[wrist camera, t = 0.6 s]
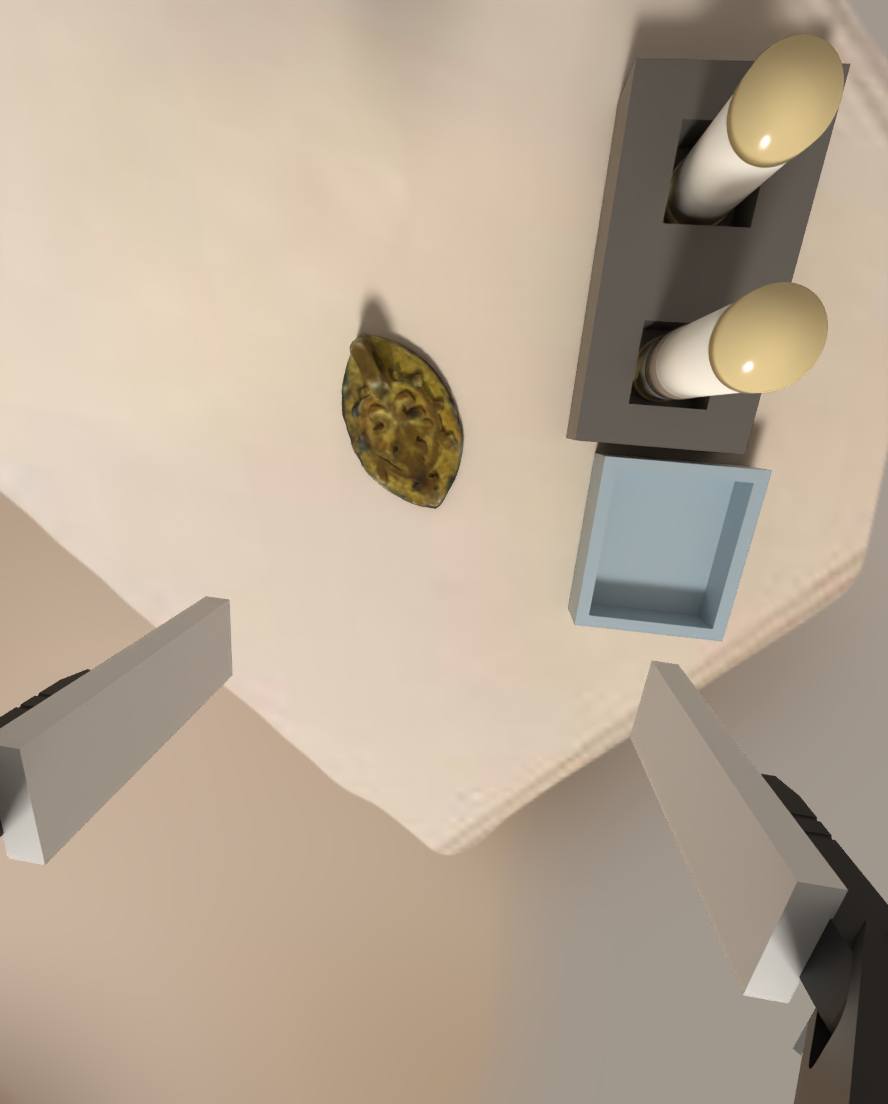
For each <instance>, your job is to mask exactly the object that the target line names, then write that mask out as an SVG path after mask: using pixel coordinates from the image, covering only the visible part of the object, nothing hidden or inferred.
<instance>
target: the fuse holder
mask: <svg viewBox="0 0 888 1104" xmlns="http://www.w3.org/2000/svg"><path fill="white" fill-rule="evenodd" d="M754 62H755V61H715V60H674V59H636V60H635V63H634V65H633V68H632V70H631V73H630V75H629V77H628V80H627V82H626V85H625V87H624V90H623V92H622V95H621V97H620V99H619V102H618V105H617V112H616V118H615V125H614V131H613V138H612V144H611V151H610V157H609V164H608V170H607V177H606V183H605V190H604V196H603V203H602V209H601V216H600V222H599V229H598V235H597V242H596V248H595V255H594V261H593V268H592V274H591V281H590V287H589V294H588V300H587V307H586V313H585V320H584V326H583V333H582V339H581V346H580V352H579V359H578V365H577V372H576V378H575V385H574V391H573V398H572V404H571V411H570V417H569V424H568V430H567V437H566V438H569V439H573V440H579V441H591V442H603V443H615V444H627V445H639V446H650V447H662V448H674V449H686V450H698V451H710V452H722V453H734V454H745V452H746V448H747V444H748V440H749V437H750V433H751V429H752V426H753V422H754V418H755V415H756V411H757V407H758V404H759V400H760V396H761V393H754V394H746V393H733V394H723V395H713V396H703V397H696V398H690V399H680V400H670V401H666V402H649V401H646V400H644V399H642V398H640V397H639V396H638V395H637V394H636V393H635V392H634V390H633V389H632V383H633V378H634V373H635V367H636V362H637V357H638V352H639V348H641V347H642V346H643V345H644V344H645V343H647V342H648V341H650V340H652V339H654V338H657V337H659V336H662V335H665V334H667V333H669V332H671V331H673V330H675V329H677V328H679V327H681V326H684V325H686V324H689V323H692V322H694V321H696V320H698V319H700V318H702V317H704V316H706V315H709V314H711V313H713V312H715V311H717V310H719V309H721V308H723V307H726V306H728V305H730V304H732V303H733V302H735V301H736V300H738V299H739V298H741V297H742V296H744V295H746V294H748V293H750V292H752V291H754V290H756V289H758V288H761V287H763V286H766V285H769V284H773V283H779V282H790V283H791V282H792V278H793V274H794V271H795V267H796V263H797V259H798V256H799V252H800V248H801V245H802V241H803V237H804V234H805V230H806V226H807V222H808V219H809V215H810V211H811V208H812V204H813V200H814V197H815V193H816V189H817V186H818V182H819V178H820V174H821V171H822V167H823V163H824V160H825V156H826V152H827V149H828V145H829V141H830V137H831V134H832V130H833V126H834V123H835V119H836V115H837V112H838V110H837V112H836V114H835V116H834V118H833V120H832V121H831V123H830V124H829V126H828V127H827V129H826V130H825V131H824V132H823V133H822V135H821V136H820V137H819V138H818V139H817V140H816V141H814V142H813V143H812V144H811V145H810V146H809V147H807V148H806V149H805V150H804V151H803V152H802V153H800V154H799V155H798V156H796V157H795V158H793V159H792V160H790V161H789V162H787V163H786V164H784V165H783V166H782V167H781V168H780V169H779V170H777V171H776V172H775V173H774V174H773V175H772V176H770V177H769V178H768V179H767V180H766V181H765V182H763V183H762V184H761V185H760V186H759V187H758V188H756V189H755V190H754V191H753V192H752V193H751V194H749V195H748V196H747V197H746V198H745V199H744V200H742V201H741V202H740V203H739V204H738V205H737V206H735V207H734V208H733V209H732V210H731V211H730V212H729V213H728V214H727V215H726V217H725V218H724V219H723V220H721V221H720V222H719V223H718V224H717V225H716V226H705V225H685V224H666V223H665V221H664V214H665V209H666V204H667V198H668V193H669V188H670V183H671V177H672V172H673V171H674V169H675V168H676V167H677V166H678V164H679V163H680V162H681V161H682V160H683V159H684V158H685V157H686V156H687V155H688V153H689V152H690V151H691V149H692V148H693V147H694V145H695V144H696V143H697V141H698V140H699V139H700V138H701V136H702V135H703V134H704V132H705V131H706V130H707V128H708V127H709V126H710V124H711V123H712V122H713V120H714V119H715V118H716V116H717V115H718V114H719V112H720V111H721V110H722V108H723V107H724V106H725V104H726V103H727V102H728V100H729V99H730V98H731V96H732V95H733V93H734V91H735V89H736V87H737V86H738V84H739V83H740V81H741V80H742V78H743V77H744V76H745V74H746V73H747V72H748V70H749V69H750V68H751V66H752V65H753V64H754ZM842 66H843V73H844V86H845V82H846V78H847V75H848V71H849V67H850V64H842ZM843 89H844V87H843ZM838 108H839V107H838Z"/></svg>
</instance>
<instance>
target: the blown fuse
mask: <svg viewBox="0 0 888 1104" xmlns="http://www.w3.org/2000/svg"><path fill="white" fill-rule="evenodd" d="M827 331H828V320H827V314H826V311H825V308H824V306H823V304H822V302H821V301H820V299H819V298H818V296H817V295H816V294H815V293H814V292H812V291H811V290H810V289H808V288H806V287H804V286H802V285H799V284H796V283H790V282H779V283H773V284H769V285H766V286H763V287H761V288H758V289H756V290H754V291H752V292H750V293H748V294H746V295H744V296H742V297H741V298H739V299H738V300H736V301H735V302H733V303H732V304H730V305H728V306H726V307H723V308H721V309H719V310H717V311H715V312H713V313H711V314H709V315H706V316H704V317H702V318H700V319H698V320H696V321H694V322H692V323H689V324H686V325H684V326H681V327H679V328H677V329H675V330H673V331H671V332H669V333H667V334H665V335H662V336H659V337H657V338H654V339H652V340H650V341H648V342H647V343H645V344H644V345H643V346H642V347H641V348H639V352H638V357H637V362H636V367H635V373H634V378H633V383H632V389H633V390H634V392H635V393H636V394H637V395H638V396H639V397H640V398H642V399H644V400H646V401H649V402H666V401H670V400H680V399H690V398H696V397H703V396H713V395H723V394H733V393H746V394H754V393H765V392H772V391H777V390H780V389H783V388H785V387H787V386H789V385H791V384H793V383H794V382H796V381H798V380H799V379H800V378H801V377H803V376H804V375H805V374H806V373H807V372H808V371H809V370H810V369H811V368H812V366H813V365H814V364H815V363H816V361H817V359H818V358H819V356H820V354H821V352H822V350H823V348H824V345H825V342H826V338H827Z"/></svg>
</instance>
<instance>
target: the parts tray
mask: <svg viewBox="0 0 888 1104" xmlns="http://www.w3.org/2000/svg"><path fill="white" fill-rule="evenodd" d="M771 472H772V471H771V470H766V469H761V468H755V467H750V466H742V465H731V464H719V463H707V462H696V461H684V460H672V459H661V458H649V457H637V456H626V455H614V454H602V453H595V457H594V462H593V468H592V474H591V480H590V485H589V491H588V497H587V503H586V508H585V514H584V520H583V526H582V531H581V537H580V543H579V549H578V554H577V560H576V566H575V572H574V577H573V583H572V589H571V595H570V600H569V606H568V610H569V612H570V614H571V617H572V619H573V622H574V624H575V625H580V626H589V627H598V628H607V629H616V630H625V631H634V632H643V633H651V634H660V635H669V636H678V637H687V638H696V639H705V640H714V641H723V637H724V634H725V630H726V627H727V623H728V620H729V616H730V613H731V610H732V606H733V603H734V599H735V596H736V592H737V589H738V586H739V582H740V579H741V575H742V572H743V568H744V565H745V562H746V558H747V555H748V551H749V548H750V544H751V541H752V538H753V534H754V531H755V527H756V524H757V520H758V517H759V514H760V510H761V507H762V503H763V500H764V496H765V493H766V489H767V486H768V483H769V479H770V476H771Z"/></svg>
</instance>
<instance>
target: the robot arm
mask: <svg viewBox="0 0 888 1104" xmlns="http://www.w3.org/2000/svg"><path fill="white" fill-rule="evenodd" d="M231 676H232V653H231V628H230V603H229V600H228V599H221V598H214V597H207V596H206V597H204V598H203V599H201V600H200V601H198V602H197V603H195V604H194V605H192V606H190V607H189V608H187V609H186V610H184V611H183V612H181V613H180V614H178V615H176V616H175V617H173V618H172V619H170V620H169V621H167V622H165V623H164V624H162V625H161V626H159V627H158V628H156V629H155V630H153V631H151V632H150V633H148V634H147V635H145V636H144V637H142V638H141V639H139V640H138V641H136V642H134V643H133V644H132V645H130V646H128V647H127V648H125V649H123V650H122V651H120V652H119V653H117V654H116V655H114V656H112V657H111V658H109V659H108V660H106V661H105V662H103V663H102V664H100V665H98V666H97V667H95V668H94V669H92V670H88V669H87V670H84V671H82V672H79V673H77V674H74V675H72V676H69V677H67V678H64V679H61V680H59V681H58V682H56V683H55V684H53V685H52V686H50V687H48V688H47V689H45V690H43V691H42V692H40V693H39V695H38V696H34V697H32V698H30V699H29V700H27V701H26V702H24V703H22V704H21V706H20V707H19V708H17V707H16V708H14V709H13V710H11V711H9V712H8V713H6V714H5V715H3V716H1V717H0V836H3V840H4V844H5V848H6V852H7V855H8V858H10V859H15V860H21V861H26V862H31V863H36V864H42V865H45V864H46V863H47V862H48V861H49V860H50V859H51V858H52V857H53V856H54V855H55V854H56V853H57V852H58V851H59V850H60V849H61V848H62V847H63V846H64V845H65V844H66V843H67V842H68V841H69V840H70V839H71V838H72V837H73V836H74V835H75V834H76V833H77V832H78V831H79V830H80V829H81V828H82V827H83V826H84V825H85V824H86V823H87V822H88V821H89V820H90V819H91V818H92V817H93V816H94V815H95V814H96V813H97V812H98V811H99V810H100V809H101V808H102V806H104V805H105V804H106V803H107V802H108V801H109V800H110V799H111V798H112V797H113V795H114V794H116V793H117V792H118V791H119V789H120V788H121V787H122V786H123V785H124V784H125V783H126V782H127V781H128V780H129V779H130V778H131V777H132V776H133V775H134V774H135V773H136V772H137V771H138V770H139V769H140V768H141V767H142V766H143V765H144V764H145V763H146V762H147V761H148V760H149V759H150V758H151V757H152V756H153V755H154V754H155V753H156V752H157V751H158V750H159V749H160V748H161V747H162V746H163V745H164V744H165V743H166V742H167V741H168V740H169V739H170V738H171V737H172V736H173V735H174V734H175V733H176V732H177V731H178V730H179V729H180V728H181V727H182V726H183V725H184V723H186V722H187V720H189V719H190V718H191V717H192V716H193V714H194V713H195V712H196V711H197V710H198V709H199V708H200V707H201V706H202V705H203V704H204V703H205V702H206V701H207V700H208V699H209V698H210V697H211V696H212V695H213V694H214V693H215V692H216V691H217V690H218V689H219V688H220V687H221V686H222V685H223V684H224V683H225V682H226V681H227V680H228V679H229V678H230V677H231ZM630 737H631V739H632V742H633V744H634V747H635V749H636V751H637V753H638V756H639V758H640V760H641V763H642V765H643V767H644V769H645V771H646V774H647V776H648V779H649V781H650V783H651V785H652V787H653V790H654V792H655V795H656V797H657V799H658V801H659V803H660V806H661V808H662V811H663V813H664V815H665V817H666V820H667V822H668V824H669V827H670V829H671V831H672V834H673V836H674V838H675V840H676V843H677V845H678V847H679V850H680V852H681V854H682V856H683V859H684V861H685V863H686V866H687V868H688V870H689V872H690V875H691V877H692V879H693V882H694V884H695V886H696V888H697V890H698V893H699V895H700V898H701V900H702V902H703V904H704V907H705V909H706V911H707V913H708V916H709V918H710V920H711V923H712V925H713V927H714V929H715V932H716V934H717V937H718V939H719V941H720V943H721V946H722V948H723V950H724V952H725V955H726V957H727V959H728V962H729V964H730V966H731V968H732V971H733V973H734V975H735V978H736V980H737V982H738V985H739V987H740V989H741V991H742V994H743V995H745V996H751V997H756V998H761V999H768V1000H773V1001H777V1002H783V1003H789V1001H790V999H791V997H792V995H793V993H794V991H795V990H796V988H797V986H798V984H799V982H800V980H801V981H802V983H803V985H804V987H805V989H806V990H807V992H808V994H809V996H810V998H811V1000H812V1001H813V1003H814V1005H815V1007H816V1008H815V1010H814V1012H813V1014H812V1015H811V1017H810V1019H809V1021H808V1023H807V1025H806V1026H805V1028H804V1030H803V1032H802V1033H801V1035H800V1037H799V1039H798V1040H797V1042H796V1044H795V1046H794V1048H793V1049H794V1050H795V1051H797V1052H798V1053H799V1054H800V1055H801V1054H802V1053H803V1055H802V1061H801V1067H800V1073H799V1078H798V1084H797V1089H796V1095H795V1100H794V1104H888V904H887V903H886V902H885V901H884V899H883V898H882V897H881V896H880V895H879V893H878V892H877V891H876V890H875V888H874V887H873V886H872V885H871V883H870V882H869V881H868V880H867V879H866V877H865V876H864V875H863V874H862V872H861V871H860V870H859V869H858V868H857V866H856V865H855V864H854V863H853V861H852V860H851V859H850V858H849V856H848V855H847V854H846V853H845V851H844V850H843V849H842V848H841V847H840V845H839V844H838V843H837V842H836V841H835V840H832V838H831V834H830V833H829V832H828V831H827V829H826V828H825V827H824V826H823V824H822V823H821V822H819V821H817V817H816V816H815V815H814V813H813V812H812V811H811V810H810V808H809V807H808V806H807V805H806V803H805V802H804V801H803V800H802V799H801V797H800V796H799V795H798V794H796V793H795V792H794V791H793V790H791V789H790V788H789V787H788V786H787V785H785V784H784V783H783V782H782V781H781V780H779V779H778V778H777V777H776V776H771V775H764V774H760V773H759V771H758V770H757V769H756V767H755V766H754V765H753V763H752V762H751V761H750V759H749V758H748V757H747V755H746V754H745V753H744V751H743V750H742V749H741V747H740V746H739V745H738V744H737V742H736V741H735V739H734V738H733V737H732V735H731V734H730V733H729V731H728V730H727V729H726V727H725V726H724V725H723V723H722V722H721V721H720V720H719V718H718V717H717V716H716V714H715V713H714V712H713V710H712V709H711V708H710V706H709V705H708V704H707V702H706V701H705V700H704V698H703V697H702V696H701V695H700V693H699V692H698V690H697V689H696V688H695V686H694V685H693V684H692V682H691V681H690V680H689V678H688V677H687V676H686V674H685V673H684V672H683V670H682V669H681V668H680V666H679V665H678V664H671V663H664V662H657V661H652V662H651V665H650V669H649V673H648V676H647V680H646V683H645V687H644V690H643V694H642V697H641V701H640V704H639V708H638V711H637V715H636V718H635V722H634V725H633V729H632V732H631V736H630Z"/></svg>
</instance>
